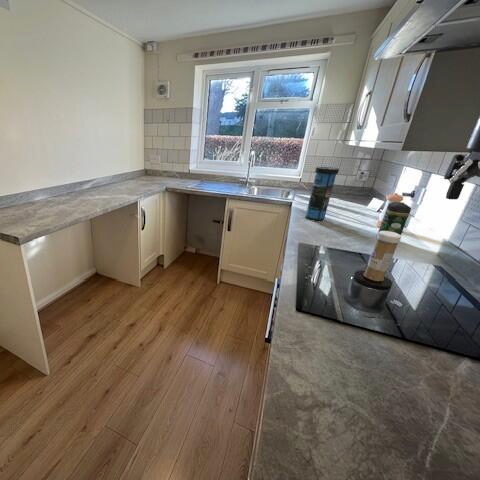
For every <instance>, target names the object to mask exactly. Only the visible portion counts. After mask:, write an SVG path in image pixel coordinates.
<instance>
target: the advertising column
mask: <svg viewBox="0 0 480 480" xmlns="http://www.w3.org/2000/svg"><path fill="white" fill-rule="evenodd" d="M339 170H340V168H338V167H332V166H331V167H330V166H316V167H315V170H314V173H315V175H314V179H313V183H312V189H311V191H310V196H309V197H310V198H309V200H308V205H307V209H306V213H305V217H304V218H305V219H306V218H307V219H306V220H308V219H309V220H308V221H311V220H314V221H313V222H319V221H320V222H324V221H325V217H326V214H327V210H328V207H329V203H330V200H331V195H332V192H333V188H334V184H335V181H336V177H337V175H338V174H339ZM323 220H324V221H323Z"/></svg>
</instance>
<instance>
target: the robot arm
mask: <svg viewBox="0 0 480 480" xmlns="http://www.w3.org/2000/svg"><path fill="white" fill-rule="evenodd" d="M465 149H466V151H469V153H468V154H467V153H458V154H457V153H456V154H454V155H453V156H452V158H451V159H450V160H451V161H450V163H449V164H448V166H447V169H446V171H445V173H444V176H443V179H444V180H448V182H449V183H450V184H449V185H448V186H449V187H448V189H447V191H446V195H445V199H447V200H458V199H459V198H460V196H461V193H462V191H463V189H464V187H465V184H464V183H466V182H467V181H468V180H469V179H472V178H475V177H477V178H480V115H479V116H478V118H477V121H476V123H475V125H474V128H473V131H472V133H471V135H470V138H469V140H468V143H467V145H466V148H465Z"/></svg>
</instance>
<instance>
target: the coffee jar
mask: <svg viewBox="0 0 480 480" xmlns="http://www.w3.org/2000/svg"><path fill="white" fill-rule="evenodd" d="M411 212H412V207H411V206H409V205H408V204H406V203H405V202H403V201H401V202H392V203H389V204H388V207H387V209H386V212H385V215H384V218H383V221H382V224H381V226H380V228H379V230H378V231H377V235H376V237H377V236H378V233H379V232H380V231H390V232H394V233H398V234H400V235H401V236H402V234H403V232H404V229H405V226H406V223H407V221H408V218H409V217H410V214H411Z"/></svg>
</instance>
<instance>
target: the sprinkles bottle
mask: <svg viewBox="0 0 480 480" xmlns="http://www.w3.org/2000/svg"><path fill="white" fill-rule="evenodd" d="M378 232H379V231H378ZM378 232H377V235H378V236H377V235H376V242H375V244H374V247H373V250H372V252H371V254H370V256H369V260H368V262H367V265H366V267H365V270H364V271H365V273H364V276H365V277H366V278H368V279H370V280H373V281H383V280H384V276H385V277H386V274H387V271H388V269H389V267H390V266H391V265H390V264H391V262H392V259H393V257H394V255H395V253H396V249H397V246H398V245H399V243H400V241H401V239H402V234H401V235H400V234H398V233H394V232H390V231H380V232H379V233H378Z"/></svg>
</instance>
